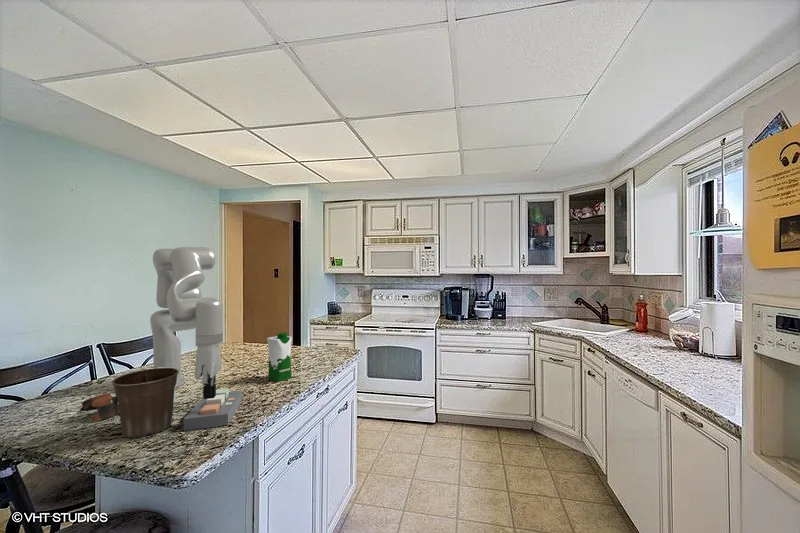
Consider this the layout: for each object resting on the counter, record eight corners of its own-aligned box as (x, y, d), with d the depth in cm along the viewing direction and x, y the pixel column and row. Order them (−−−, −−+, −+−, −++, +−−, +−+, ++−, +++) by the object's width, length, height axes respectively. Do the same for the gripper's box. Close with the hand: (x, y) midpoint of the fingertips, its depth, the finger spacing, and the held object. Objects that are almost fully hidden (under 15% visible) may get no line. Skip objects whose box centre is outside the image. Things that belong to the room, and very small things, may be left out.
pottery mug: (80, 428, 105) (73, 402, 107) (89, 430, 112) (83, 406, 114) (128, 408, 112) (121, 385, 114) (133, 412, 119) (127, 390, 121)
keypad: (205, 404, 121) (205, 393, 121) (242, 400, 124) (242, 390, 124) (183, 430, 100) (183, 418, 100) (228, 425, 103) (227, 413, 103)
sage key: (215, 398, 119) (215, 389, 120) (229, 396, 121) (229, 388, 121) (211, 402, 115) (211, 393, 115) (226, 401, 116) (225, 392, 116)
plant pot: (159, 440, 95) (158, 382, 95) (97, 444, 93) (96, 385, 94) (190, 415, 111) (189, 366, 111) (137, 418, 110) (136, 368, 110)
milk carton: (277, 383, 142) (276, 335, 142) (264, 379, 147) (264, 333, 148) (294, 377, 149) (294, 332, 149) (282, 374, 154) (281, 330, 155)
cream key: (210, 404, 114) (210, 395, 114) (224, 403, 115) (224, 394, 115) (206, 409, 109) (206, 400, 109) (221, 408, 110) (221, 398, 111)
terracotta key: (204, 414, 108) (204, 405, 108) (220, 412, 109) (220, 403, 109) (200, 420, 104) (200, 410, 104) (216, 418, 105) (216, 408, 105)
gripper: (203, 335, 113) (203, 390, 113) (187, 345, 98) (187, 408, 99) (228, 334, 115) (228, 388, 115) (215, 344, 100) (216, 406, 100)
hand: (209, 397), depth 107 cm, fingers closed
